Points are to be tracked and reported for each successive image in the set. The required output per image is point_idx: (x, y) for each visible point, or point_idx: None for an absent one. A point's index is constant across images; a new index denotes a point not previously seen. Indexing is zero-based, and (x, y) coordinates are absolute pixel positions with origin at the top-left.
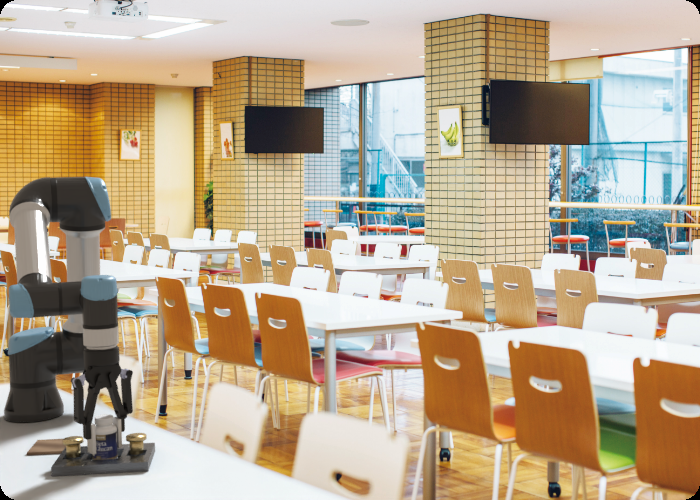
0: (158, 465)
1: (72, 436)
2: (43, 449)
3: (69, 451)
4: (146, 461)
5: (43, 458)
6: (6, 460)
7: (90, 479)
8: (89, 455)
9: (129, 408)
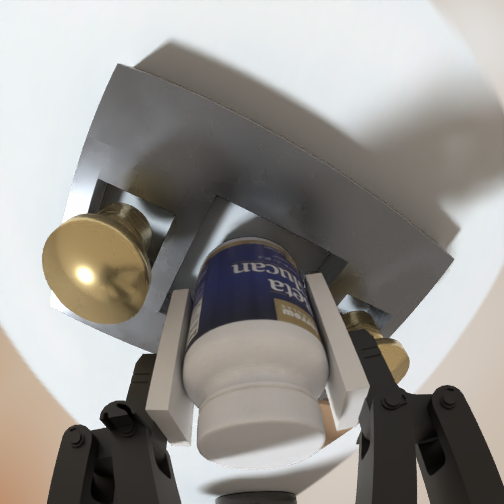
0: (76, 121)
1: None
2: None
3: (380, 332)
4: (120, 73)
5: None
6: (412, 393)
7: (372, 121)
8: None
9: (76, 455)
